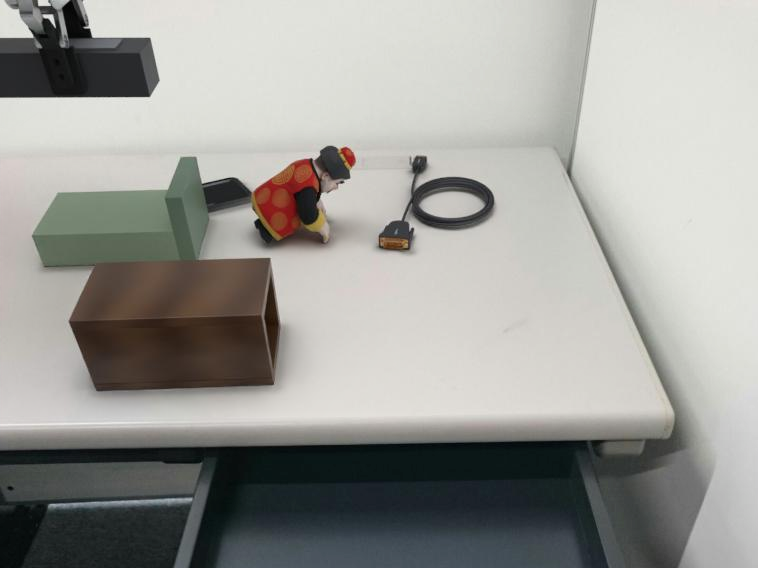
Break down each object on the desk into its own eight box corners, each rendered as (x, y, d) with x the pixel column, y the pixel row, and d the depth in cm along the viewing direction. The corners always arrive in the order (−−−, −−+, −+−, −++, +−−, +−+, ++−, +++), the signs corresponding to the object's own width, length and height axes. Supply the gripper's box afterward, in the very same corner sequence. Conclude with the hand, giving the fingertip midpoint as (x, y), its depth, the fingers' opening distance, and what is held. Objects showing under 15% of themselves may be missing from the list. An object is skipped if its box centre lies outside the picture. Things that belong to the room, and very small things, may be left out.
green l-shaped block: (43, 266, 90) (17, 201, 84) (68, 222, 98) (46, 160, 92) (196, 262, 91) (181, 197, 85) (209, 218, 99) (196, 156, 93)
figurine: (290, 278, 96) (387, 215, 92) (244, 222, 88) (347, 151, 84) (283, 238, 101) (373, 177, 97) (239, 182, 94) (335, 114, 90)
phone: (134, 199, 101) (235, 175, 106) (136, 207, 102) (236, 183, 107) (150, 221, 97) (255, 196, 102) (153, 229, 98) (256, 204, 102)
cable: (503, 167, 109) (504, 156, 108) (482, 258, 91) (483, 246, 90) (415, 161, 111) (415, 150, 110) (377, 249, 93) (376, 238, 92)
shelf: (96, 390, 74) (67, 321, 68) (119, 330, 81) (95, 262, 75) (273, 384, 74) (261, 314, 68) (280, 325, 81) (270, 257, 75)
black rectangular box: (-4, 98, 71) (-21, 51, 68) (13, 81, 75) (-3, 35, 72) (150, 97, 72) (139, 50, 69) (160, 80, 75) (150, 35, 72)
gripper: (-6, -178, 65) (64, 58, 78) (-87, -156, 53) (12, 115, 67) (78, -178, 65) (134, 58, 78) (16, -156, 54) (94, 115, 67)
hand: (77, 82), depth 73 cm, fingers closed on black rectangular box, 5 cm apart
